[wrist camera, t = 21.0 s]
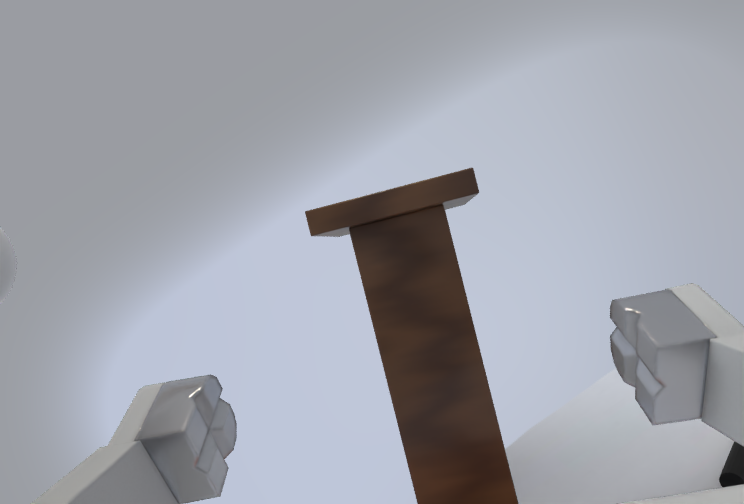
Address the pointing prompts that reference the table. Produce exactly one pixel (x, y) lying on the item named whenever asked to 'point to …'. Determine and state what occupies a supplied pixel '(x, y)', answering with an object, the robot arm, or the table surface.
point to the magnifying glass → (733, 467)
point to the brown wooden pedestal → (426, 336)
